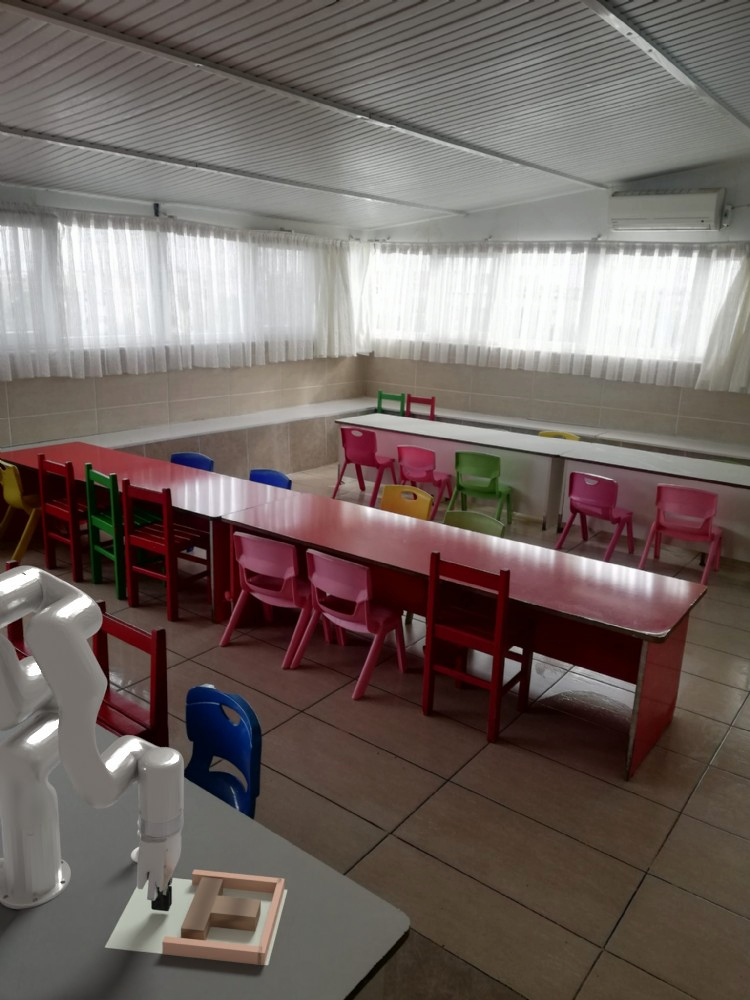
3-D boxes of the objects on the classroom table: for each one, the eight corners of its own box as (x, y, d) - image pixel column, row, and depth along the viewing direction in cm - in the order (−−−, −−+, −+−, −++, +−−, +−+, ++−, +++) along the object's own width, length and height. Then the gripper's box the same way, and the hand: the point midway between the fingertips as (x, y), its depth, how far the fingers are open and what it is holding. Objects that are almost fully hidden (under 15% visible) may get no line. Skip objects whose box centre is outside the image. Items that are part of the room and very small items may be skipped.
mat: (104, 950, 126) (104, 947, 126) (142, 877, 143) (142, 874, 142) (268, 968, 124) (268, 965, 124) (287, 892, 141) (287, 889, 141)
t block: (180, 942, 128) (180, 928, 127) (202, 890, 139) (202, 877, 139) (249, 950, 127) (250, 935, 126) (265, 897, 139) (265, 883, 138)
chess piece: (129, 867, 145) (128, 822, 143) (130, 849, 150) (129, 806, 147) (156, 863, 146) (155, 819, 144) (156, 846, 151) (155, 803, 149)
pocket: (162, 953, 125) (162, 941, 125) (194, 880, 142) (193, 869, 141) (264, 964, 124) (264, 953, 124) (284, 889, 141) (284, 878, 140)
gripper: (155, 790, 137) (156, 874, 141) (122, 845, 122) (124, 938, 127) (195, 794, 136) (195, 879, 141) (167, 850, 122) (167, 943, 126)
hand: (161, 907), depth 134 cm, fingers closed
